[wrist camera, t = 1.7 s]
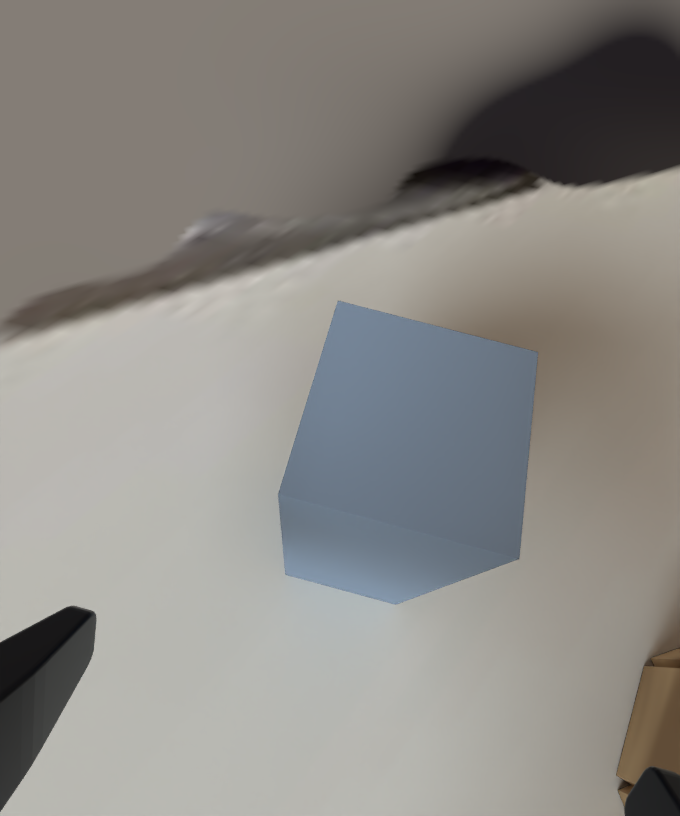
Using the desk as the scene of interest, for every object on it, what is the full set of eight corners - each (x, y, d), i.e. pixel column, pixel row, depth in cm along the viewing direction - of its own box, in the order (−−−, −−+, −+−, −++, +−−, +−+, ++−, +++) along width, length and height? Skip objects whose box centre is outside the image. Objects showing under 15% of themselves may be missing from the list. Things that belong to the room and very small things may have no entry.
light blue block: (395, 604, 20) (519, 558, 9) (285, 574, 20) (277, 494, 9) (415, 496, 22) (538, 351, 11) (315, 469, 22) (337, 300, 11)
